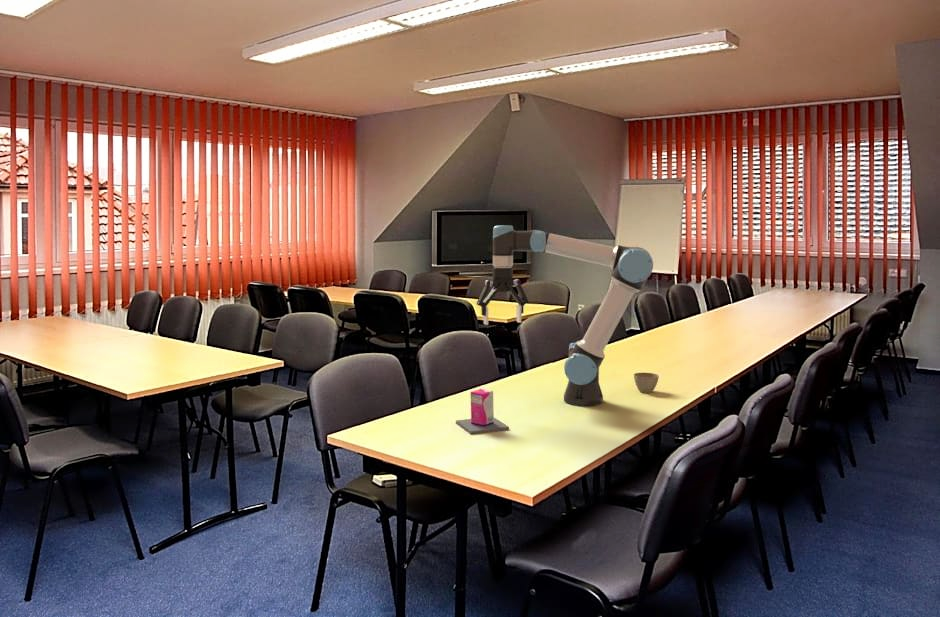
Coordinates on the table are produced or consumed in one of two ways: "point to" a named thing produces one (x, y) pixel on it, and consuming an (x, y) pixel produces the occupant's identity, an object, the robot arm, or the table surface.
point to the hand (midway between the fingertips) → (502, 323)
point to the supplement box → (482, 407)
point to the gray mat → (479, 429)
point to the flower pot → (646, 381)
